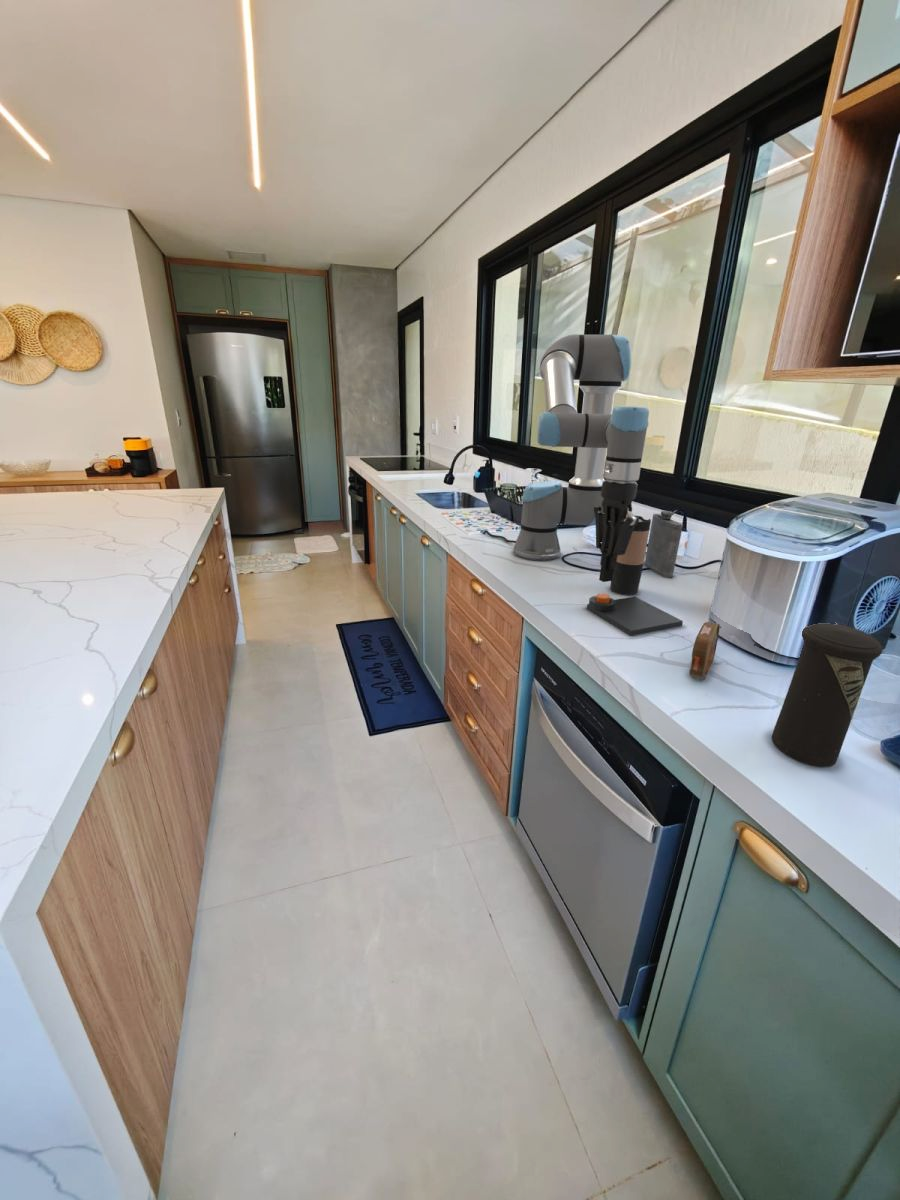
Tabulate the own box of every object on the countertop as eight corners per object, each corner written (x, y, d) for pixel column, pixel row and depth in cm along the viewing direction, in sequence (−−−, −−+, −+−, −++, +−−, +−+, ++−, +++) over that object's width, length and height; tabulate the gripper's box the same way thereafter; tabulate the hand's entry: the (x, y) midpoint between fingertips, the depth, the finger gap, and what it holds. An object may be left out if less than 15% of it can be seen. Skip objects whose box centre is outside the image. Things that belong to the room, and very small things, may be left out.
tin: (701, 687, 92) (711, 646, 89) (683, 681, 94) (692, 641, 91) (715, 655, 104) (724, 618, 101) (699, 651, 106) (707, 614, 102)
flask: (662, 577, 148) (674, 517, 141) (640, 562, 161) (650, 506, 154) (674, 577, 148) (686, 517, 141) (651, 562, 161) (661, 506, 154)
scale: (583, 608, 125) (584, 597, 124) (632, 600, 131) (634, 589, 130) (628, 636, 111) (630, 624, 110) (681, 626, 117) (684, 614, 116)
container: (824, 777, 71) (873, 653, 63) (758, 743, 78) (794, 627, 70) (847, 754, 76) (895, 635, 68) (782, 724, 83) (820, 613, 75)
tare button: (592, 600, 124) (593, 594, 123) (603, 598, 125) (604, 592, 124) (601, 605, 121) (602, 599, 120) (612, 603, 122) (612, 597, 121)
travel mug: (608, 593, 135) (619, 520, 127) (609, 584, 142) (620, 514, 134) (638, 597, 133) (651, 523, 125) (638, 587, 139) (651, 516, 132)
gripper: (588, 476, 116) (576, 573, 125) (626, 486, 105) (610, 591, 114) (614, 475, 118) (601, 570, 127) (654, 484, 107) (636, 587, 116)
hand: (605, 580), depth 121 cm, fingers closed
